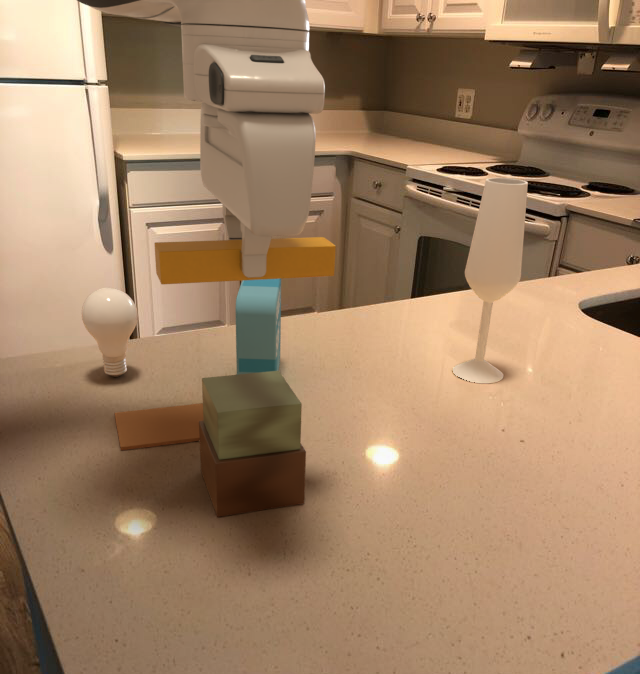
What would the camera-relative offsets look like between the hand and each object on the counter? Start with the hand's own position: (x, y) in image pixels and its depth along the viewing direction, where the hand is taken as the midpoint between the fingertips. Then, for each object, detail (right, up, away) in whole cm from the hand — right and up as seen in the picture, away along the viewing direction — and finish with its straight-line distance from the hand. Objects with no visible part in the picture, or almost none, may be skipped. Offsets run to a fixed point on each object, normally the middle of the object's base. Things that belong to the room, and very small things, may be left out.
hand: (246, 267), depth 57 cm
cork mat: (-9, -13, +20) cm, 25 cm away
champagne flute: (+27, -6, +36) cm, 45 cm away
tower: (-1, -18, +9) cm, 21 cm away
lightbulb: (-19, -7, +31) cm, 37 cm away
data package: (-2, -7, +32) cm, 32 cm away
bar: (0, -1, 0) cm, 1 cm away
